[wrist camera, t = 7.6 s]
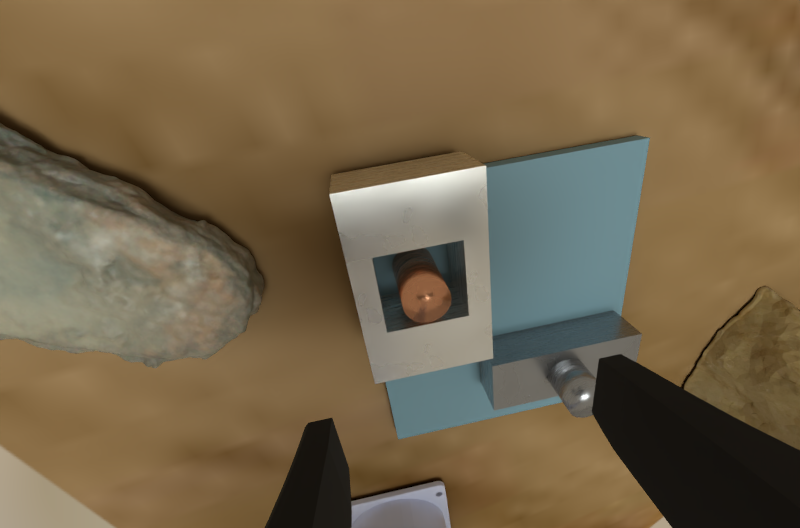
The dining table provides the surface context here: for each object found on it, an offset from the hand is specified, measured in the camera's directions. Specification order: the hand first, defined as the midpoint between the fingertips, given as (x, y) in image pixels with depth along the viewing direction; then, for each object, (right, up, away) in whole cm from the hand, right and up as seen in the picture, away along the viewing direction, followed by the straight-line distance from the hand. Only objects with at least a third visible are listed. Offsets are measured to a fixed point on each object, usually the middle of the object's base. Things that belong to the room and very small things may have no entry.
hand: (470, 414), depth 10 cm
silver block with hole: (-1, +4, +8) cm, 9 cm away
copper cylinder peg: (-1, +4, +9) cm, 10 cm away
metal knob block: (+6, 0, +12) cm, 14 cm away
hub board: (+4, +2, +11) cm, 12 cm away
